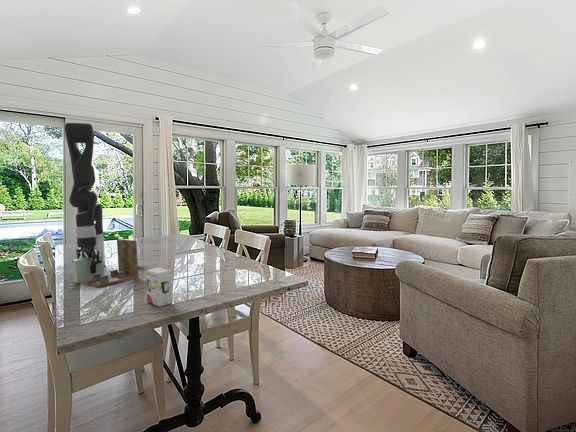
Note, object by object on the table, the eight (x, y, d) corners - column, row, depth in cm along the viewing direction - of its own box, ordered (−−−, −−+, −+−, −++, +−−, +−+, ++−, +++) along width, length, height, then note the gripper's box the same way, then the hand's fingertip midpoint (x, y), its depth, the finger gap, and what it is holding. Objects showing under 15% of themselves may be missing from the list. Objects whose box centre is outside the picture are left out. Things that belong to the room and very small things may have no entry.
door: (74, 282, 149) (72, 260, 149) (100, 275, 160) (99, 254, 159) (78, 283, 148) (76, 260, 147) (105, 276, 158) (103, 255, 157)
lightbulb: (135, 267, 175) (134, 246, 174) (125, 267, 176) (123, 246, 175) (143, 264, 181) (142, 244, 180) (132, 264, 182) (131, 244, 181)
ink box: (146, 302, 122) (144, 269, 121) (159, 298, 126) (158, 267, 125) (159, 307, 116) (157, 273, 115) (172, 303, 120) (171, 270, 119)
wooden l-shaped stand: (83, 284, 146) (80, 244, 144) (122, 274, 162) (119, 238, 160) (100, 288, 140) (97, 246, 138) (138, 277, 156) (136, 240, 154)
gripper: (104, 235, 152) (106, 272, 153) (85, 233, 159) (88, 268, 161) (87, 238, 145) (89, 276, 147) (68, 236, 153) (71, 272, 154)
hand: (88, 272), depth 154 cm, fingers open, 6 cm apart
